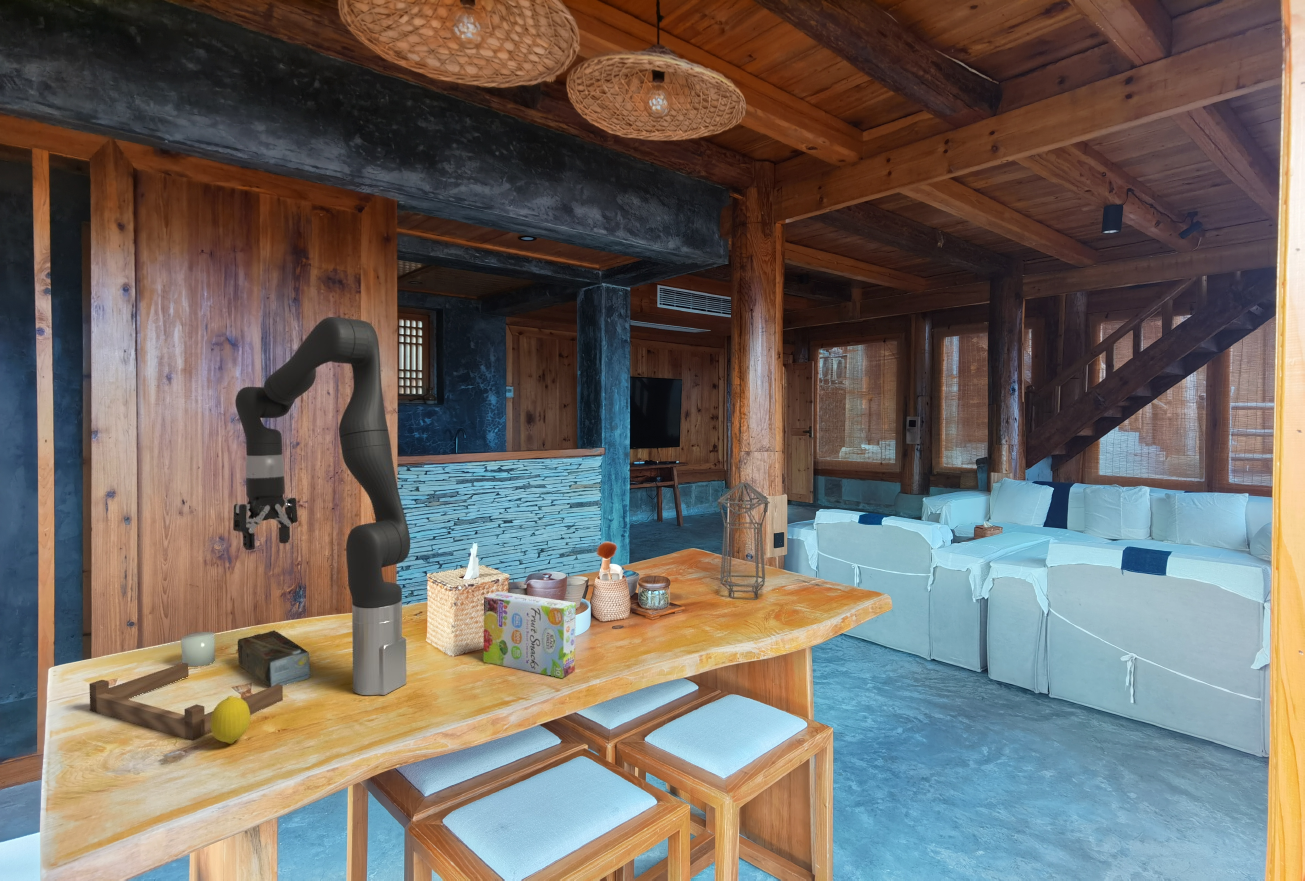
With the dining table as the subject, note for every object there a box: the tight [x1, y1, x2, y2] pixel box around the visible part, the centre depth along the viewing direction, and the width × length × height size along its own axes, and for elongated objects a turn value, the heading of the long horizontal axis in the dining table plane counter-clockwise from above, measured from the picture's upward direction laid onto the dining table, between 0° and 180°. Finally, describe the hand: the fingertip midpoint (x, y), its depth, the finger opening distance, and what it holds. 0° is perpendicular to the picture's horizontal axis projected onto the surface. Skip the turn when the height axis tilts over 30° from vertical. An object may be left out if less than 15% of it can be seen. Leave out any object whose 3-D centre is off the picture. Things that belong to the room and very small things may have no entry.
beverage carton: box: [237, 630, 311, 688], centre depth 139 cm, size 8×19×7 cm, turn 49°
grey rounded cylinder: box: [180, 631, 216, 667], centre depth 143 cm, size 6×6×6 cm
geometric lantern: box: [717, 481, 771, 601], centre depth 201 cm, size 16×16×35 cm
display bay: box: [88, 662, 284, 741], centre depth 123 cm, size 28×17×5 cm, turn 68°
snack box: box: [482, 591, 577, 679], centre depth 143 cm, size 21×6×15 cm, turn 65°
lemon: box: [211, 695, 251, 745], centre depth 109 cm, size 6×6×8 cm
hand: (267, 546), depth 149 cm, fingers open, 8 cm apart
